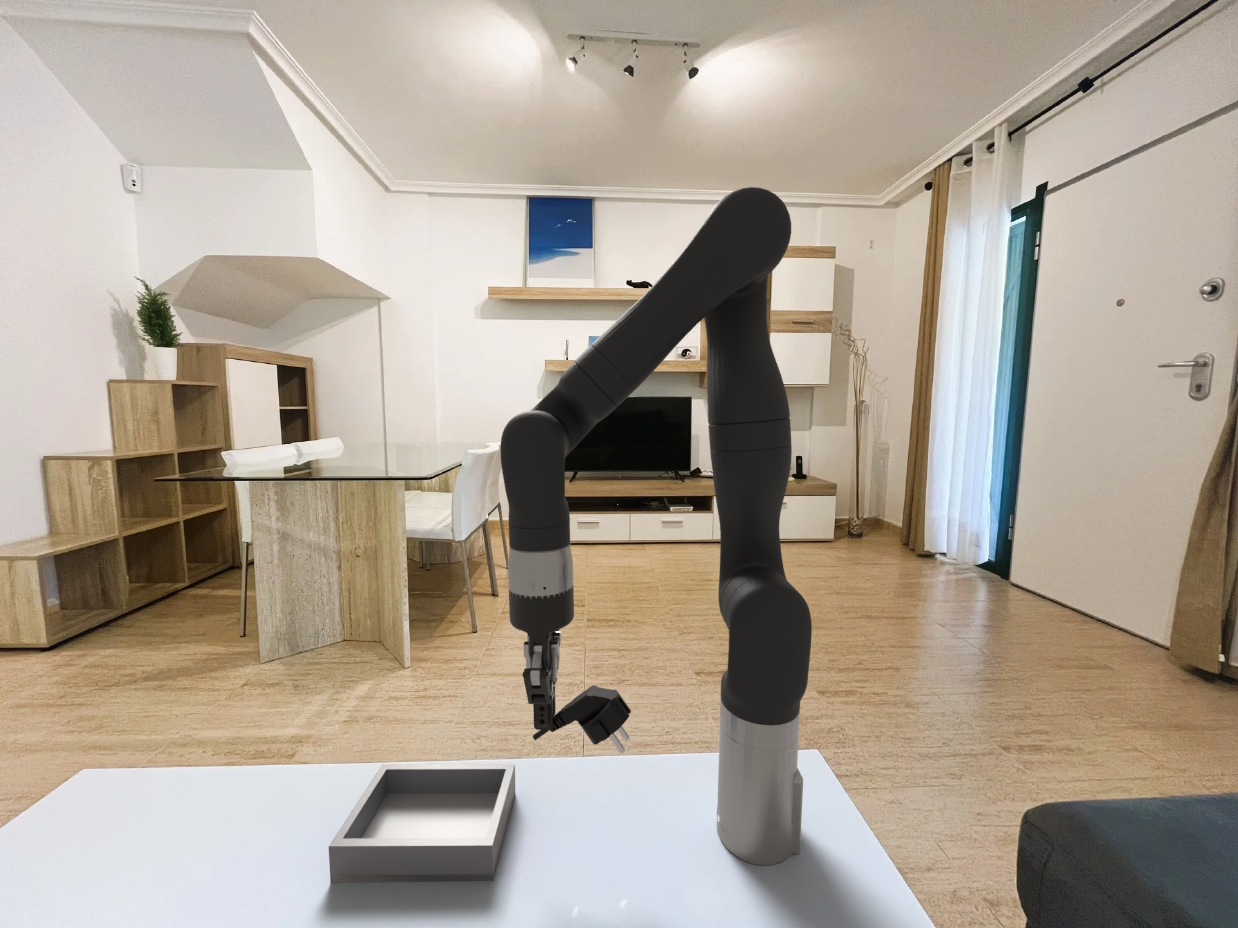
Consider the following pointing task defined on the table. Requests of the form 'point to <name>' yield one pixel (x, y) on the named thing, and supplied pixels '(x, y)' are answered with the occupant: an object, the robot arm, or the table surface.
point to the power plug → (595, 716)
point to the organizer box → (426, 825)
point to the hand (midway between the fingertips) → (545, 720)
